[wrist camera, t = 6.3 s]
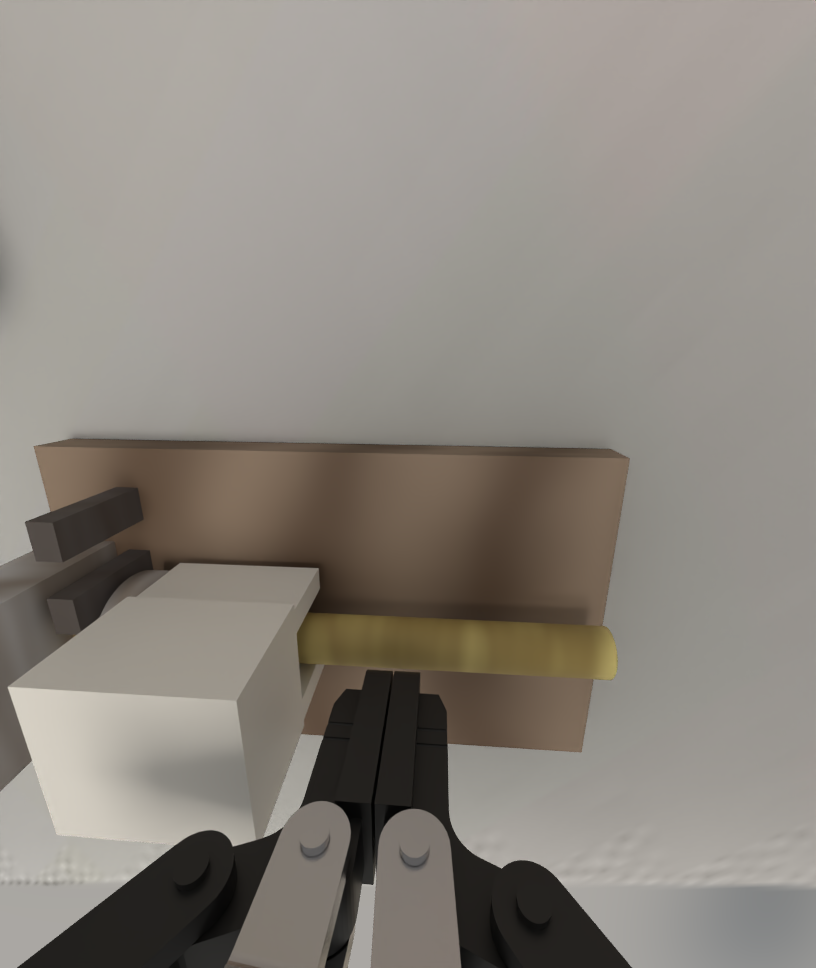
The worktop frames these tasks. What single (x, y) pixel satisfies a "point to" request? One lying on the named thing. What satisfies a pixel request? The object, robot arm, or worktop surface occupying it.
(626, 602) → the worktop surface
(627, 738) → the worktop surface
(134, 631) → the cream stepped block
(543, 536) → the slider rod mechanism
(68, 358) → the worktop surface
